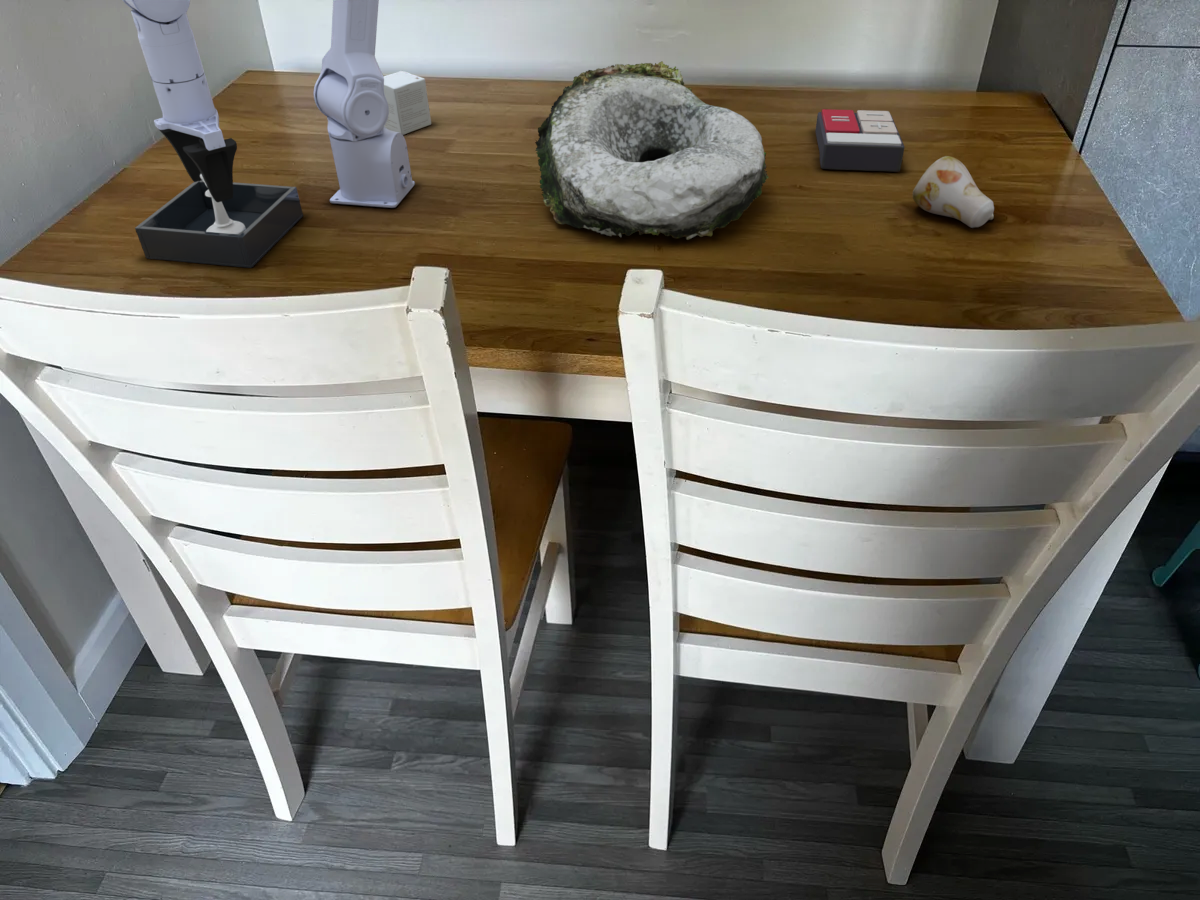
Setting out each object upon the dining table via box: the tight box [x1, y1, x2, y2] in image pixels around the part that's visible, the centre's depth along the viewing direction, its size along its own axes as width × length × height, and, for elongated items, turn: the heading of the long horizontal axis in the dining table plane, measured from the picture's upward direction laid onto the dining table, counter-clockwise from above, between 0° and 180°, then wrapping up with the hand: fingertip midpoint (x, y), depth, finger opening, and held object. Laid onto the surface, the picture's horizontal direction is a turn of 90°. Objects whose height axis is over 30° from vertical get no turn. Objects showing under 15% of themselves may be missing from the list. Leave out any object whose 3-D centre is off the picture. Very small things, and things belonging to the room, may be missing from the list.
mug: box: [912, 155, 995, 229], centre depth 115 cm, size 8×10×10 cm
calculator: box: [815, 108, 905, 173], centre depth 133 cm, size 11×4×15 cm
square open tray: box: [134, 180, 304, 269], centre depth 114 cm, size 14×14×4 cm
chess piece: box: [200, 174, 246, 235], centre depth 112 cm, size 5×5×10 cm
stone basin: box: [534, 60, 770, 241], centre depth 118 cm, size 29×30×15 cm
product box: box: [383, 70, 432, 136], centre depth 142 cm, size 6×6×7 cm
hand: (212, 189), depth 112 cm, fingers open, 7 cm apart
